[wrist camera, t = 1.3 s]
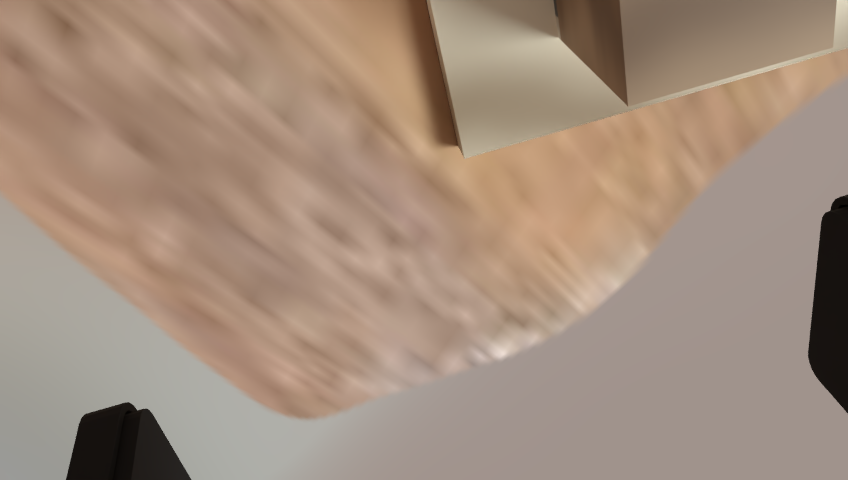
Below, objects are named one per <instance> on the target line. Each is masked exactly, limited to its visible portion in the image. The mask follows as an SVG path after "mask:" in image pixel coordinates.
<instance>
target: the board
mask: <svg viewBox="0 0 848 480" xmlns="http://www.w3.org/2000/svg"><path fill="white" fill-rule="evenodd" d="M426 2H427V6H428V11H429V15H430V20H431V24H432V29H433V33H434V38H435V42H436V47H437V51H438V56H439V61H440V65H441V70H442V74H443V79H444V83H445V88H446V92H447V97H448V101H449V106H450V110H451V115H452V119H453V124H454V128H455V133H456V138H457V142H458V147H459V149H460V151H461V153H462V155H463V157H464V159H465V158H469V157H472V156H476V155H479V154H483V153H486V152H490V151H493V150H497V149H500V148H503V147H507V146H510V145H514V144H517V143H521V142H524V141H528V140H531V139H535V138H538V137H542V136H545V135H548V134H552V133H555V132H559V131H562V130H566V129H569V128H573V127H576V126H580V125H583V124H587V123H590V122H593V121H597V120H600V119H604V118H607V117H611V116H614V115H618V114H621V113H625V112H628V111H632V110H635V109H639V108H642V107H645V106H649V105H652V104H656V103H659V102H663V101H666V100H670V99H673V98H677V97H680V96H684V95H687V94H690V93H694V92H697V91H701V90H704V89H708V88H711V87H715V86H718V85H722V84H725V83H729V82H732V81H735V80H739V79H742V78H746V77H749V76H753V75H756V74H760V73H763V72H767V71H770V70H774V69H777V68H780V67H784V66H787V65H791V64H794V63H798V62H801V61H805V60H808V59H812V58H815V57H819V56H822V55H825V54H829V53H832V52H836V51H839V50H843V49H846V48H848V0H837V4H836V17H835V29H834V42H833V48H830V49H826V50H823V51H819V52H816V53H812V54H809V55H805V56H802V57H798V58H795V59H792V60H788V61H785V62H781V63H778V64H774V65H771V66H767V67H764V68H760V69H757V70H753V71H750V72H747V73H743V74H740V75H736V76H733V77H729V78H726V79H722V80H719V81H715V82H712V83H708V84H705V85H701V86H698V87H695V88H691V89H688V90H684V91H681V92H677V93H674V94H670V95H667V96H663V97H660V98H656V99H653V100H649V101H646V102H643V103H639V104H636V105H632V106H629V107H628V106H627V105H626V104H625V103H624V102H623V101H622V100H621V99H620V98H619V97H618V96H617V95H616V94H615V93H614V92H613V91H612V90H611V89H610V88H609V87H608V86H607V85H606V84H605V83H604V82H603V81H602V80H601V79H600V78H599V77H598V76H597V75H596V74H595V73H594V72H593V71H592V70H591V69H590V68H589V67H588V66H587V65H585V64H584V63H583V62H582V61H581V60H580V59H579V58H578V57H577V56H576V55H575V54H574V53H573V52H572V51H571V50H570V49H569V48H568V47H567V46H566V45H565V44H564V43H563V42H562V41H561V40H560V39H559V38H558V32H557V24H556V16H555V8H554V0H426Z"/></svg>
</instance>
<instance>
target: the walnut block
mask: <svg viewBox="0 0 848 480" xmlns="http://www.w3.org/2000/svg"><path fill="white" fill-rule="evenodd" d="M836 4H837V0H554V8H555V16H556V24H557V32H558V38H559V39H560V40H561V41H562V42H563V43H564V44H565V45H566V46H567V47H568V48H569V49H570V50H571V51H572V52H573V53H574V54H575V55H576V56H577V57H578V58H579V59H580V60H581V61H582V62H583V63H584V64H585V65H587V66H588V67H589V68H590V69H591V70H592V71H593V72H594V73H595V74H596V75H597V76H598V77H599V78H600V79H601V80H602V81H603V82H604V83H605V84H606V85H607V86H608V87H609V88H610V89H611V90H612V91H613V92H614V93H615V94H616V95H617V96H618V97H619V98H620V99H621V100H622V101H623V102H624V103H625V104H626V105H627V106H628V107H629V106H632V105H636V104H639V103H643V102H646V101H649V100H653V99H656V98H660V97H663V96H667V95H670V94H674V93H677V92H681V91H684V90H688V89H691V88H695V87H698V86H701V85H705V84H708V83H712V82H715V81H719V80H722V79H726V78H729V77H733V76H736V75H740V74H743V73H747V72H750V71H753V70H757V69H760V68H764V67H767V66H771V65H774V64H778V63H781V62H785V61H788V60H792V59H795V58H798V57H802V56H805V55H809V54H812V53H816V52H819V51H823V50H826V49H830V48H833V42H834V29H835V17H836Z"/></svg>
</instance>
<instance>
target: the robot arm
mask: <svg viewBox="0 0 848 480" xmlns="http://www.w3.org/2000/svg"><path fill="white" fill-rule="evenodd" d="M808 358H809V362H810V365H811V368H812V370H813V372H814V374H815V375H816V377H817V378H818V380H819V381H820V382H821V383H822V384H823V385H824V387H825V388H826V389H827V390H828V391H829V392H830V393H831V394H832V396H833V397H834V398H835V399H836V400H837V402H838V403H839V404H840V405H841V406H842V407H843V408H844V410H845V411H846V412H847V413H848V195H845V196H842V197H839V198H837V199H835V201H834V202H833V203H832V206H831V210H830V211H829V212H826V213H825V214H824V216H823V217H822V222H821V231H820V241H819V251H818V261H817V271H816V280H815V290H814V301H813V311H812V320H811V330H810V341H809V350H808ZM66 480H191V478H190V477H189V475H188V473H187V472H186V470H185V468H184V467H183V465H182V463H181V462H180V460H179V458H178V456H177V455H176V453H175V451H174V450H173V448H172V446H171V445H170V443H169V441H168V440H167V438H166V436H165V434H164V433H163V431H162V430H161V428H160V426H159V424H158V423H157V421H156V419H155V417H154V416H153V414H152V413H151V412H150V410H148V409H142V410H138V411H137V409H136V408H135V407H134V406H133V405H132V404H131V403H129V402H128V403H122V404H119V405H115V406H112V407H109V408H105V409H102V410H98V411H95V412H91V413H88V414H85V415H84V416H83V417H82V418H81V421H80V423H79V427H78V431H77V436H76V440H75V444H74V448H73V453H72V457H71V461H70V465H69V469H68V474H67V478H66Z"/></svg>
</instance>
